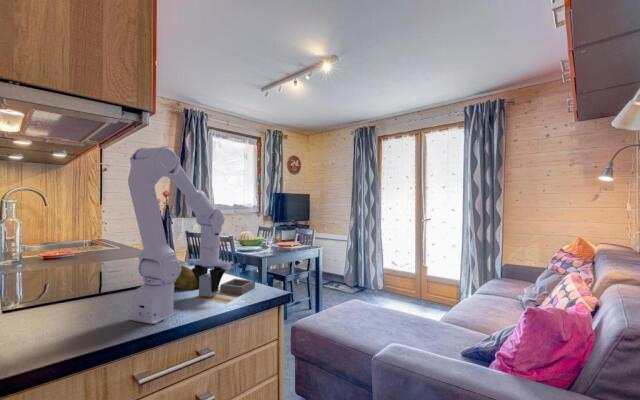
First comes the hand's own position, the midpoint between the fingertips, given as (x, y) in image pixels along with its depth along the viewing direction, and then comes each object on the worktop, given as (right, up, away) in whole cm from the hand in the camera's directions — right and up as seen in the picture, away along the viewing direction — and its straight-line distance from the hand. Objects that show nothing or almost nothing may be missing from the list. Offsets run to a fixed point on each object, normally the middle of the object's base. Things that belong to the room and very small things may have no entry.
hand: (208, 290), depth 99 cm
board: (+4, -3, +4) cm, 6 cm away
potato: (-11, -2, +9) cm, 14 cm away
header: (+7, -3, +7) cm, 11 cm away
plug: (0, -1, 0) cm, 1 cm away
